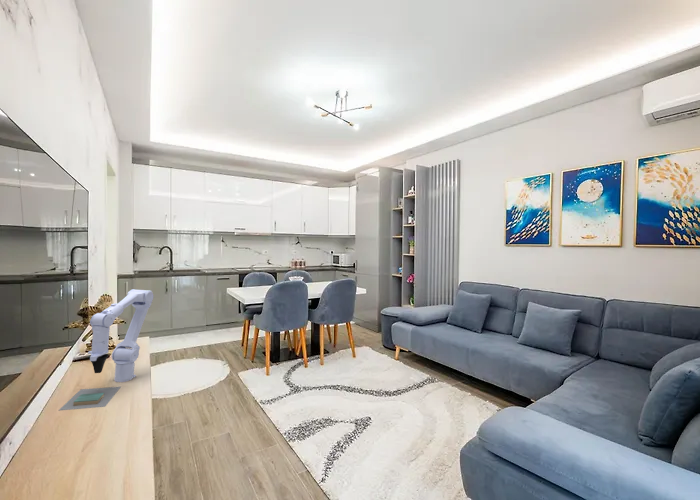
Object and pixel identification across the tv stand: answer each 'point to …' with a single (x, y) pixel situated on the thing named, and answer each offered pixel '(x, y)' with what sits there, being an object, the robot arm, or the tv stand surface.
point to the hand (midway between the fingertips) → (98, 372)
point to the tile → (88, 399)
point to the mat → (104, 401)
